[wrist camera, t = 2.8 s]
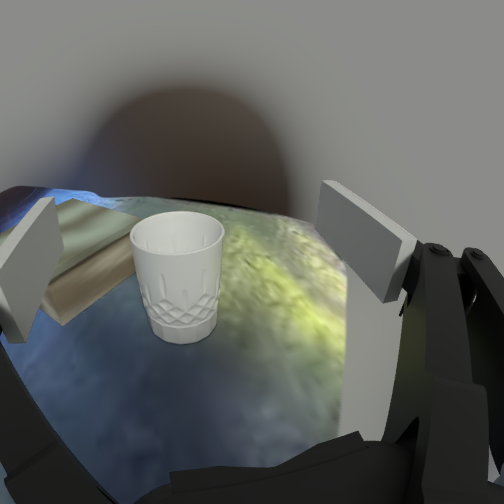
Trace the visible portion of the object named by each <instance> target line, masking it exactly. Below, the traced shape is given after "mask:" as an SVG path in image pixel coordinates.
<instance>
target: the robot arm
mask: <svg viewBox="0 0 504 504" xmlns="http://www.w3.org/2000/svg"><path fill="white" fill-rule="evenodd" d="M315 230H316V231H317V232H318V233H319V234H320V235H321V236H322V237H323V238H324V239H325V240H326V241H327V242H328V243H329V244H330V246H331V247H332V248H333V249H334V250H335V251H336V252H337V253H338V254H339V255H340V256H341V257H342V258H343V260H344V261H345V262H346V263H347V264H348V265H349V266H350V267H351V268H352V269H353V270H354V271H355V273H356V274H357V275H358V276H359V277H360V278H361V279H362V280H363V282H365V284H366V285H367V286H368V287H369V288H370V289H371V290H372V292H373V293H374V294H375V295H376V296H377V297H378V298H379V300H380V301H381V302H382V303H388V302H392V301H397V300H398V297H399V294H400V291H401V289H402V288H403V289H404V290H405V291H406V292H407V295H406V298H405V301H404V304H403V306H402V309H401V311H400V314H399V316H402V314H403V322H402V332H401V339H400V347H399V348H400V349H399V355H398V362H397V369H396V375H395V381H394V387H393V393H392V398H391V403H390V408H389V414H388V418H387V422H386V427H385V431H384V435H383V437H382V440H381V441H363V439H362V437H361V435H360V433H359V431H356V432H353V433H350V434H347V435H345V436H341V437H338V438H335V439H332V440H329V441H326V442H323V443H319V444H317V445H315V446H313V447H312V448H310V449H308V450H306V451H304V452H303V453H301V454H299V455H297V456H295V457H294V458H292V459H290V460H288V461H286V462H284V463H282V464H280V465H278V466H275V467H270V468H256V467H228V466H216V467H209V468H201V469H193V470H184V471H173V472H169V473H170V479H171V483H169V484H166V485H163V486H161V487H159V488H157V489H154V490H152V491H150V492H149V493H147V494H145V495H144V496H142V497H141V498H140V499H138V500H137V501H136V502H135V503H134V504H504V278H503V276H502V275H501V273H500V272H499V271H498V269H497V268H496V266H495V265H494V264H493V262H492V261H491V260H490V258H489V257H488V256H487V255H486V254H484V253H483V252H482V251H481V250H479V249H476V248H465V249H464V252H463V254H462V257H461V258H455V257H453V255H452V253H451V252H450V251H449V250H448V249H447V248H445V247H443V246H442V245H439V244H434V243H426V244H422V243H421V242H420V241H418V240H417V239H416V238H415V237H414V236H412V235H411V234H410V233H409V232H407V231H406V230H404V229H403V228H402V227H401V226H399V225H398V224H396V223H395V222H393V221H392V220H391V219H390V218H388V217H387V216H386V215H384V214H383V213H381V212H380V211H379V210H377V209H376V208H374V207H373V206H372V205H370V204H368V203H367V202H366V201H364V200H363V199H362V198H360V197H359V196H357V195H356V194H354V193H353V192H351V191H350V190H348V189H347V188H345V187H344V186H342V185H341V184H339V183H338V182H336V181H334V180H322V182H321V189H320V196H319V203H318V211H317V217H316V224H315ZM64 249H65V248H64V244H63V240H62V235H61V231H60V226H59V221H58V216H57V210H56V205H55V199H54V196H53V197H46V198H40V199H39V200H38V201H37V203H36V204H35V205H34V206H33V207H32V208H31V209H30V210H29V212H28V213H27V214H26V215H25V216H24V218H23V219H22V220H21V221H20V222H19V224H18V225H17V226H16V227H15V228H14V230H13V231H12V232H11V233H10V235H9V236H8V237H7V239H6V240H5V241H4V242H3V244H2V245H1V246H0V335H1V333H2V331H3V333H4V335H5V337H6V339H7V340H8V342H9V343H26V342H27V339H28V336H29V333H30V330H31V327H32V325H33V322H34V319H35V316H36V314H37V311H38V309H39V306H40V303H41V301H42V298H43V296H44V293H45V291H46V289H47V286H48V284H49V282H50V279H51V277H52V275H53V272H54V270H55V268H56V266H57V263H58V261H59V259H60V257H61V255H62V253H63V251H64ZM476 294H477V295H476ZM475 296H476V299H475V301H474V303H473V300H474V298H475ZM489 446H490V450H491V454H492V456H493V459H494V462H495V465H496V468H497V470H498V472H499V474H500V476H499V477H498V478H497V479H496V480H495V481H494V483H492V482H489V481H488V462H489V461H488V460H489ZM0 461H1V463H2V465H3V467H4V469H5V471H6V473H7V477H6V478H4V482H5V486H6V488H7V490H8V492H9V493H10V495H11V497H12V498H13V500H14V502H15V503H16V504H119V503H118V502H117V501H116V500H115V499H114V498H113V497H112V496H111V495H110V494H109V493H108V492H107V491H106V490H105V489H104V488H103V487H102V486H101V485H100V484H99V483H98V482H97V481H96V480H95V479H94V478H93V477H92V476H91V474H90V473H89V472H88V471H87V470H86V469H85V468H84V466H83V465H82V464H81V463H80V462H79V461H78V459H77V458H76V457H75V456H74V455H73V453H72V452H71V451H70V450H69V448H68V447H67V446H66V445H65V443H64V442H63V441H62V439H61V438H60V437H59V435H58V434H57V433H56V431H55V430H54V429H53V427H52V426H51V425H50V423H49V422H48V420H47V419H46V417H45V416H44V415H43V413H42V412H41V410H40V409H39V407H38V406H37V404H36V403H35V401H34V399H33V398H32V396H31V395H30V393H29V392H28V390H27V388H26V387H25V385H24V383H23V382H22V380H21V378H20V377H19V375H18V373H17V371H16V370H15V368H14V366H13V364H12V362H11V360H10V359H9V357H8V355H7V353H6V351H5V349H4V347H3V345H2V343H1V342H0Z"/></svg>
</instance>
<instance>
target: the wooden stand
mask: <svg viewBox="0 0 504 504" xmlns="http://www.w3.org/2000/svg"><path fill="white" fill-rule="evenodd" d="M56 210H57V216H58V221H59V226H60V231H61V235H62V240H63V244H64V248H65V249H64V251H63V253H62V255H61V257H60V259H59V261H58V263H57V266H56V268H55V270H54V272H53V275H52V277H51V279H50V282H49V284H48V286H47V289H46V291H45V293H44V296H43V298H42V301H41V303H40V306H39V308H40V309H41V310H43V311H44V312H45V313H46V314H48V315H49V316H50V317H52V318H53V319H54V320H55V321H57V322H58V323H59V324H61V325H62V326H64V325H66V324H67V323H68V322H69V321H71V320H72V319H73V318H75V317H76V316H77V315H79V314H80V313H81V312H83V311H84V310H85V309H86V308H88V307H89V306H90V305H92V304H93V303H94V302H96V301H97V300H98V299H100V298H101V297H102V296H104V295H105V294H106V293H108V292H109V291H111V290H112V289H113V288H115V287H116V286H117V285H119V284H120V283H121V282H123V281H124V280H126V279H127V278H128V277H130V276H131V275H132V274H134V273H135V272H136V268H135V263H134V257H133V252H132V246H131V241H130V232H131V230H132V228H133V227H134V226H135V225H136V224H137V223H138V222H140V221H142V218H139V217H136V216H132V215H129V214H125V213H122V212H118V211H115V210H111V209H108V208H105V207H101V206H98V205H94V204H91V203H87V202H84V201H80V200H77V199H73V198H72V199H70V200H67V201H65V202H63V203H61V204H59V205H56ZM16 226H17V225H16ZM16 226H14V227H12V228H10V229H8V230H6V231H4V232H2V233H1V234H0V246H1V245H2V244H3V242H4V241H5V240H6V239H7V237H8V236H9V235H10V233H11V232H12V231H13V230H14V228H15V227H16Z"/></svg>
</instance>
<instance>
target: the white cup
mask: <svg viewBox="0 0 504 504" xmlns="http://www.w3.org/2000/svg"><path fill="white" fill-rule="evenodd" d="M130 241H131V246H132V252H133V257H134V263H135V268H136V273H137V278H138V283H139V286H140V291H141V295H142V299H143V303H144V306H145V309H146V311H147V316H148V320H149V324H150V326H151V328H152V330H153V333H154V334H155V335H157V336H158V337H160V338H161V339H162V340H164V341H166V342H171V343H176V344H187V343H194V342H198V341H200V340H201V339H203V338H205V337H207V336H209V335H210V333H211V332H212V331H213V329H214V328H215V326H216V322H217V306H218V301H219V294H220V282H221V274H222V258H223V244H224V227H223V225H222V224H221V223H220V222H219V221H218V220H216V219H215V218H213V217H211V216H208V215H205V214H201V213H196V212H186V211H176V212H166V213H161V214H157V215H153V216H150V217H148V218H145V219H143V220H142V221H140V222H138V223H137V224H136V225H135V226H134V227H133V228H132V230H131V232H130Z"/></svg>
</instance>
